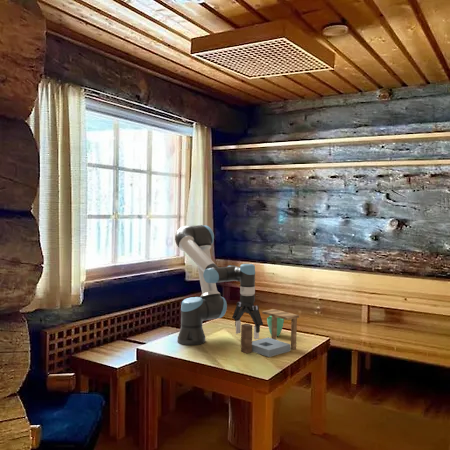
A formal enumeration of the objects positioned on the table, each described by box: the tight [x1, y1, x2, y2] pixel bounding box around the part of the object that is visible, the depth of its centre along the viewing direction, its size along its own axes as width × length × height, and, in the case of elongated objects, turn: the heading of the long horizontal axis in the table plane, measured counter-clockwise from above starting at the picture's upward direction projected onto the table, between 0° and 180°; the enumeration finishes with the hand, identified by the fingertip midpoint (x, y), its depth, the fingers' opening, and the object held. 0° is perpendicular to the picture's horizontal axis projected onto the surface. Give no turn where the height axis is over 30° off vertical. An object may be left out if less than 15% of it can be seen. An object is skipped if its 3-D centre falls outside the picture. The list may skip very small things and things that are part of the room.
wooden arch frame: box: [261, 308, 300, 351], centre depth 262 cm, size 18×9×18 cm, turn 41°
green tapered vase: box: [266, 315, 285, 337], centre depth 287 cm, size 15×10×10 cm
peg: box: [240, 323, 253, 354], centre depth 253 cm, size 4×4×14 cm
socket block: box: [252, 337, 291, 358], centre depth 257 cm, size 16×16×4 cm
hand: (247, 335), depth 253 cm, fingers open, 13 cm apart
